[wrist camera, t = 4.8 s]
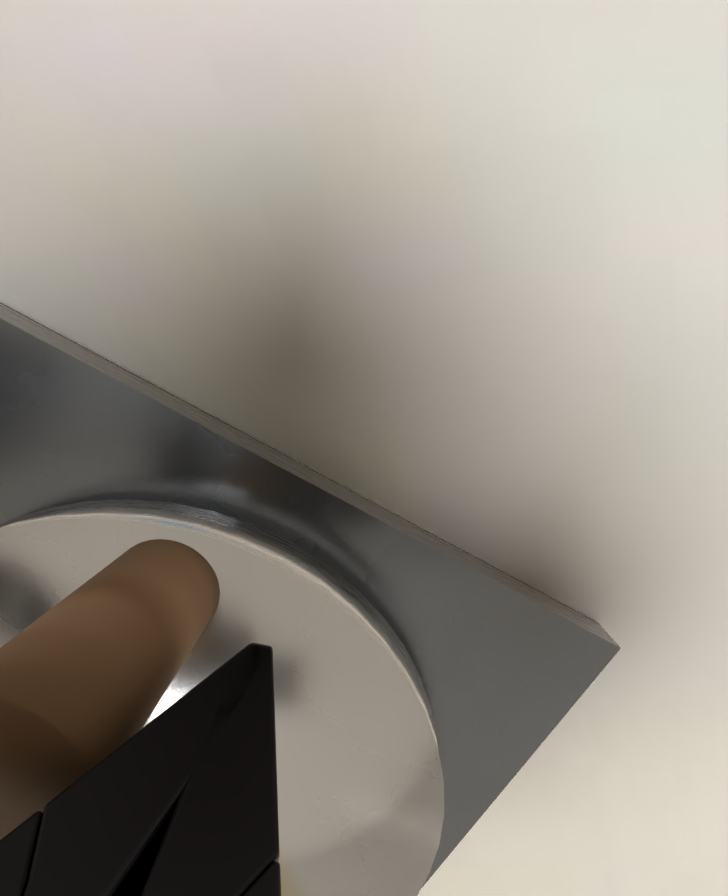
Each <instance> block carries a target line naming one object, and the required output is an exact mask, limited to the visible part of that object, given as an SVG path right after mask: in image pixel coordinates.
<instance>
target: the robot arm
mask: <svg viewBox="0 0 728 896" xmlns="http://www.w3.org/2000/svg"><path fill="white" fill-rule="evenodd" d="M279 857H280V852H279V821H278V790H277V760H276V729H275V699H274V668H273V648H272V647H271V646H269V645H264V644H259V643H250V644H248V645H247V646H246V647H244V648H243V649H242V650H240V651H239V652H238V653H237V654H235V655H234V656H233V657H232V658H230V659H229V660H228V661H227V662H225V663H224V664H223V665H221V666H220V667H219V668H218V669H216V670H215V671H214V672H213V673H211V674H210V675H209V676H208V677H206V678H205V679H204V680H203V681H201V682H200V683H199V684H197V685H196V686H195V687H194V688H192V689H191V690H190V691H189V692H187V693H186V694H185V695H184V696H182V697H181V698H180V699H178V700H177V701H176V702H175V703H173V704H172V705H171V706H170V707H168V708H167V709H166V710H165V711H163V712H162V713H161V714H160V715H158V716H157V717H156V718H154V719H153V720H152V721H151V722H149V723H148V724H147V725H146V726H144V727H143V728H142V729H141V730H139V731H138V732H137V733H135V734H134V735H133V736H132V737H130V738H129V739H128V740H127V741H125V742H124V743H123V744H122V745H120V746H119V747H118V748H117V749H115V750H114V751H113V752H111V753H110V754H109V755H108V756H106V757H105V758H104V759H103V760H101V761H100V762H99V763H98V764H96V765H95V766H94V767H92V768H91V769H90V770H89V771H87V772H86V773H85V774H84V775H82V776H81V777H80V778H79V779H77V780H76V781H75V782H74V783H72V784H71V785H70V786H68V787H67V788H66V789H65V790H63V791H62V792H61V793H60V794H58V795H57V796H56V797H55V798H53V799H52V800H51V801H49V802H48V803H47V804H46V805H45V806H44V808H43V812H41V811H37V812H35V813H34V814H33V815H31V816H30V817H29V818H28V819H26V820H25V821H24V822H23V823H21V824H20V825H19V826H17V827H16V828H15V829H14V830H12V831H11V832H10V833H9V834H7V835H6V836H5V837H4V838H2V839H1V840H0V896H281V873H280V864H279Z"/></svg>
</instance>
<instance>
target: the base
mask: <svg viewBox="0 0 728 896" xmlns="http://www.w3.org/2000/svg"><path fill="white" fill-rule="evenodd" d="M120 499H134V500H146V501H159V502H171V503H176V504H181V505H186V506H191V507H196V508H201V509H206V510H211V511H215V512H218V513H221V514H224V515H227V516H230V517H233V518H236V519H239V520H242V521H245V522H248V523H251V524H254V525H256V526H258V527H260V528H262V529H265V530H267V531H269V532H271V533H273V534H275V535H277V536H279V537H282V538H284V539H286V540H288V541H290V542H292V543H294V544H295V545H297V546H299V547H300V548H302V549H303V550H305V551H307V552H308V553H310V554H311V555H313V556H315V557H316V558H318V559H319V560H321V561H323V562H324V563H326V564H327V565H328V566H330V567H331V568H332V569H333V570H335V571H336V572H337V573H338V574H339V575H341V576H342V577H343V578H344V579H346V580H347V581H348V582H349V583H350V584H352V585H353V586H354V587H355V588H357V589H358V590H359V591H360V592H361V593H362V595H363V596H364V597H365V598H366V599H367V600H368V601H369V602H370V603H371V604H372V605H373V606H374V607H375V608H376V609H377V610H378V611H379V612H380V614H381V615H382V616H383V617H384V618H385V620H386V621H387V622H388V624H389V625H390V626H391V628H392V629H393V631H394V632H395V633H396V635H397V636H398V638H399V639H400V640H401V642H402V643H403V645H404V646H405V648H406V650H407V652H408V654H409V656H410V657H411V659H412V661H413V663H414V665H415V667H416V669H417V671H418V673H419V675H420V677H421V680H422V683H423V686H424V689H425V692H426V694H427V697H428V700H429V703H430V706H431V711H432V717H433V723H434V728H435V734H436V740H437V745H438V751H439V756H440V762H441V768H442V773H443V779H444V819H443V825H442V831H441V837H440V844H439V847H438V850H437V853H436V856H435V858H434V861H433V864H432V867H431V870H430V873H429V875H428V877H427V878H426V880H425V882H424V884H425V883H426V882H427V881H428V880H429V878H430V877H431V876H432V875H433V874H434V872H435V871H436V870H437V869H438V868H439V866H440V865H441V864H442V863H443V862H444V860H445V859H446V858H447V857H448V856H449V854H450V853H451V852H452V851H453V850H454V848H455V847H456V846H457V845H458V843H459V842H460V841H461V840H462V839H463V837H464V836H465V835H466V834H467V833H468V831H469V830H470V829H471V828H472V827H473V825H474V824H475V823H476V822H477V821H478V819H479V818H480V817H481V816H482V815H483V813H484V812H485V811H486V810H487V809H488V807H489V806H490V805H491V804H492V803H493V801H494V800H495V799H496V798H497V796H498V795H499V794H500V793H501V792H502V790H503V789H504V788H505V787H506V786H507V784H508V783H509V782H510V781H511V780H512V778H513V777H514V776H515V775H516V774H517V772H518V771H519V770H520V769H521V768H522V766H523V765H524V764H525V763H526V762H527V760H528V759H529V758H530V757H531V756H532V754H533V753H534V752H535V751H536V749H537V748H538V747H539V746H540V745H541V743H542V742H543V741H544V740H545V739H546V737H547V736H548V735H549V734H550V733H551V731H552V730H553V729H554V728H555V727H556V725H557V724H558V723H559V722H560V721H561V719H562V718H563V717H564V716H565V715H566V713H567V712H568V711H569V710H570V708H571V707H572V706H573V705H574V704H575V702H576V701H577V700H578V699H579V698H580V696H581V695H582V694H583V693H584V692H585V690H586V689H587V688H588V687H589V686H590V684H591V683H592V682H593V681H594V680H595V678H596V677H597V676H598V675H599V674H600V672H601V671H602V670H603V669H604V668H605V666H606V665H607V664H608V663H609V661H610V660H611V659H612V658H613V657H614V655H615V654H616V653H617V652H618V651H619V649H620V647H619V646H618V645H617V643H616V642H615V641H614V640H613V639H612V638H611V637H610V636H609V634H608V633H607V632H606V631H605V630H604V629H603V628H602V627H601V625H600V624H599V623H597V622H595V621H593V620H591V619H589V618H587V617H586V616H584V615H582V614H580V613H578V612H576V611H574V610H573V609H571V608H569V607H567V606H565V605H563V604H561V603H559V602H558V601H556V600H554V599H552V598H550V597H548V596H546V595H545V594H543V593H541V592H539V591H537V590H535V589H533V588H531V587H530V586H528V585H526V584H524V583H522V582H520V581H518V580H517V579H515V578H513V577H511V576H509V575H507V574H505V573H503V572H502V571H500V570H498V569H496V568H494V567H492V566H490V565H489V564H487V563H485V562H483V561H481V560H479V559H477V558H475V557H474V556H472V555H470V554H468V553H466V552H464V551H462V550H461V549H459V548H457V547H455V546H453V545H451V544H449V543H447V542H446V541H444V540H442V539H440V538H438V537H436V536H434V535H433V534H431V533H429V532H427V531H425V530H423V529H421V528H419V527H418V526H416V525H414V524H412V523H410V522H408V521H406V520H404V519H403V518H401V517H399V516H397V515H395V514H393V513H391V512H390V511H388V510H386V509H384V508H382V507H380V506H378V505H376V504H375V503H373V502H371V501H369V500H367V499H365V498H363V497H362V496H360V495H358V494H356V493H354V492H352V491H350V490H348V489H347V488H345V487H343V486H341V485H339V484H337V483H335V482H334V481H332V480H330V479H328V478H326V477H324V476H322V475H320V474H319V473H317V472H315V471H313V470H311V469H309V468H307V467H306V466H304V465H302V464H300V463H298V462H296V461H294V460H292V459H291V458H289V457H287V456H285V455H283V454H281V453H279V452H278V451H276V450H274V449H272V448H270V447H268V446H266V445H264V444H263V443H261V442H259V441H257V440H255V439H253V438H251V437H250V436H248V435H246V434H244V433H242V432H240V431H238V430H236V429H235V428H233V427H231V426H229V425H227V424H225V423H223V422H222V421H220V420H218V419H216V418H214V417H212V416H210V415H208V414H207V413H205V412H203V411H201V410H199V409H197V408H195V407H194V406H192V405H190V404H188V403H186V402H184V401H182V400H180V399H179V398H177V397H175V396H173V395H171V394H169V393H167V392H166V391H164V390H162V389H160V388H158V387H156V386H154V385H152V384H151V383H149V382H147V381H145V380H143V379H141V378H139V377H138V376H136V375H134V374H132V373H130V372H128V371H126V370H124V369H123V368H121V367H119V366H117V365H115V364H113V363H111V362H110V361H108V360H106V359H104V358H102V357H100V356H98V355H96V354H95V353H93V352H91V351H89V350H87V349H85V348H83V347H82V346H80V345H78V344H76V343H74V342H72V341H70V340H68V339H67V338H65V337H63V336H61V335H59V334H57V333H55V332H54V331H52V330H50V329H48V328H46V327H44V326H42V325H40V324H39V323H37V322H35V321H33V320H31V319H29V318H27V317H26V316H24V315H22V314H20V313H18V312H16V311H14V310H12V309H11V308H9V307H7V306H5V305H3V304H1V303H0V524H2V523H5V522H7V521H9V520H12V519H15V518H18V517H21V516H24V515H27V514H31V513H34V512H37V511H40V510H43V509H46V508H50V507H56V506H62V505H67V504H73V503H79V502H84V501H98V500H120ZM424 884H423V886H424ZM423 886H422V887H423Z"/></svg>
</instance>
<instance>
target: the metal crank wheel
mask: <svg viewBox="0 0 728 896" xmlns="http://www.w3.org/2000/svg"><path fill="white" fill-rule="evenodd" d="M250 643H259V644H264V645H269V646H271V647H272V648H273V668H274V699H275V729H276V760H277V790H278V821H279V852H280V857H279V864H280V873H281V896H417V895H418V893H419V891H420V890H421V888H422V886H423V884H424V882H425V880H426V878H427V877H428V875H429V873H430V870H431V867H432V864H433V861H434V858H435V856H436V853H437V850H438V847H439V844H440V837H441V831H442V825H443V819H444V779H443V773H442V768H441V762H440V756H439V751H438V745H437V740H436V734H435V728H434V723H433V717H432V711H431V706H430V703H429V700H428V697H427V694H426V692H425V689H424V686H423V683H422V680H421V677H420V675H419V673H418V671H417V669H416V667H415V665H414V663H413V661H412V659H411V657H410V656H409V654H408V652H407V650H406V648H405V646H404V645H403V643H402V642H401V640H400V639H399V638H398V636H397V635H396V633H395V632H394V631H393V629H392V628H391V626H390V625H389V624H388V622H387V621H386V620H385V618H384V617H383V616H382V615H381V614H380V612H379V611H378V610H377V609H376V608H375V607H374V606H373V605H372V604H371V603H370V602H369V601H368V600H367V599H366V598H365V597H364V596H363V595H362V593H361V592H360V591H359V590H358V589H357V588H355V587H354V586H353V585H352V584H350V583H349V582H348V581H347V580H346V579H344V578H343V577H342V576H341V575H339V574H338V573H337V572H336V571H335V570H333V569H332V568H331V567H330V566H328V565H327V564H326V563H324V562H323V561H321V560H319V559H318V558H316V557H315V556H313V555H311V554H310V553H308V552H307V551H305V550H303V549H302V548H300V547H299V546H297V545H295V544H294V543H292V542H290V541H288V540H286V539H284V538H282V537H279V536H277V535H275V534H273V533H271V532H269V531H267V530H265V529H262V528H260V527H258V526H256V525H254V524H251V523H248V522H245V521H242V520H239V519H236V518H233V517H230V516H227V515H224V514H221V513H218V512H215V511H211V510H206V509H201V508H196V507H191V506H186V505H181V504H176V503H171V502H159V501H146V500H134V499H120V500H98V501H84V502H79V503H73V504H67V505H62V506H56V507H50V508H46V509H43V510H40V511H37V512H34V513H31V514H27V515H24V516H21V517H18V518H15V519H12V520H9V521H7V522H5V523H2V524H0V840H1V839H2V838H4V837H5V836H6V835H7V834H9V833H10V832H11V831H12V830H14V829H15V828H16V827H17V826H19V825H20V824H21V823H23V822H24V821H25V820H26V819H28V818H29V817H30V816H31V815H33V814H34V813H35V812H37V811H41V812H43V808H44V806H45V805H46V804H47V803H48V802H49V801H51V800H52V799H53V798H55V797H56V796H57V795H58V794H60V793H61V792H62V791H63V790H65V789H66V788H67V787H68V786H70V785H71V784H72V783H74V782H75V781H76V780H77V779H79V778H80V777H81V776H82V775H84V774H85V773H86V772H87V771H89V770H90V769H91V768H92V767H94V766H95V765H96V764H98V763H99V762H100V761H101V760H103V759H104V758H105V757H106V756H108V755H109V754H110V753H111V752H113V751H114V750H115V749H117V748H118V747H119V746H120V745H122V744H123V743H124V742H125V741H127V740H128V739H129V738H130V737H132V736H133V735H134V734H135V733H137V732H138V731H139V730H141V729H142V728H143V727H144V726H146V725H147V724H148V723H149V722H151V721H152V720H153V719H154V718H156V717H157V716H158V715H160V714H161V713H162V712H163V711H165V710H166V709H167V708H168V707H170V706H171V705H172V704H173V703H175V702H176V701H177V700H178V699H180V698H181V697H182V696H184V695H185V694H186V693H187V692H189V691H190V690H191V689H192V688H194V687H195V686H196V685H197V684H199V683H200V682H201V681H203V680H204V679H205V678H206V677H208V676H209V675H210V674H211V673H213V672H214V671H215V670H216V669H218V668H219V667H220V666H221V665H223V664H224V663H225V662H227V661H228V660H229V659H230V658H232V657H233V656H234V655H235V654H237V653H238V652H239V651H240V650H242V649H243V648H244V647H246V646H247V645H248V644H250Z"/></svg>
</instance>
